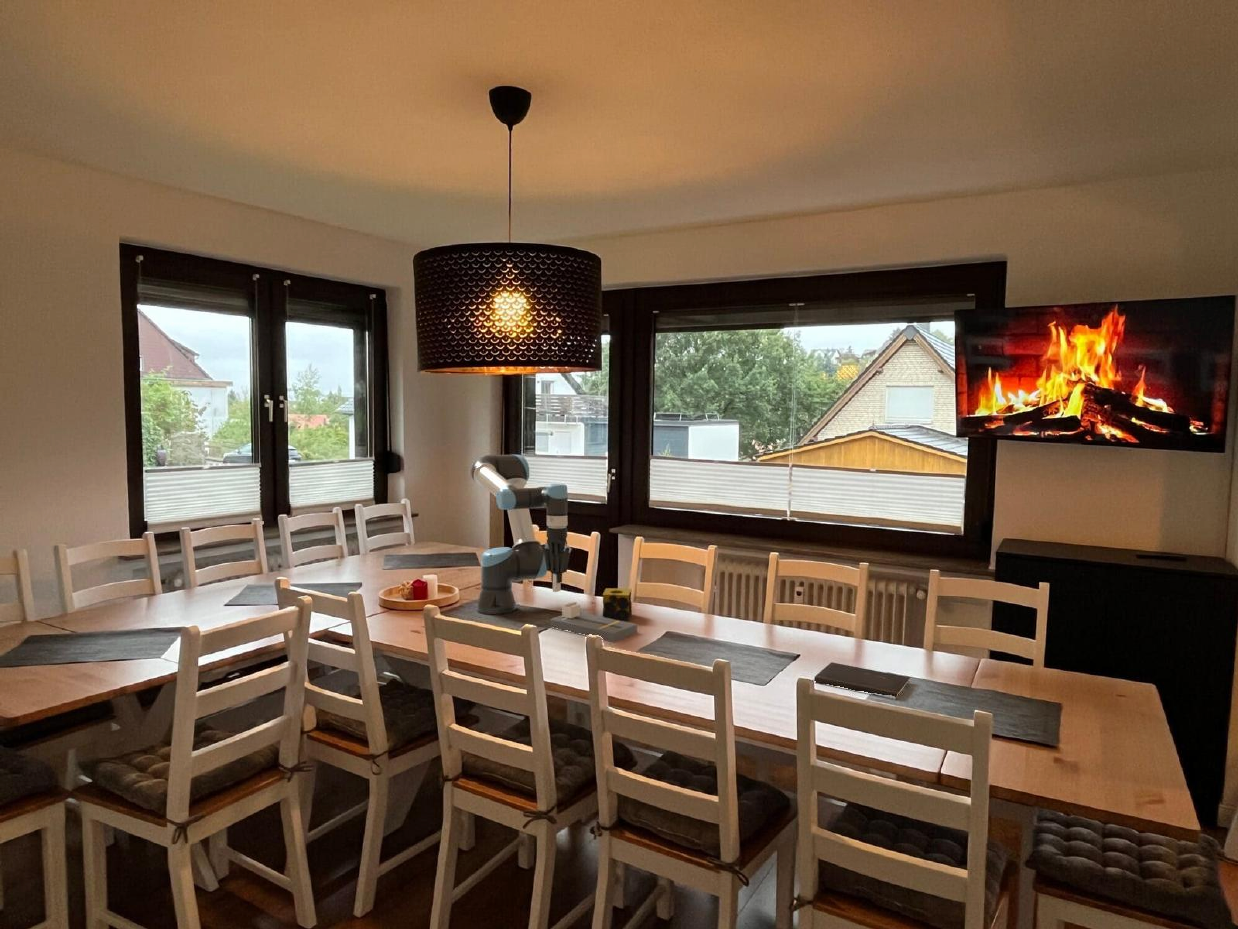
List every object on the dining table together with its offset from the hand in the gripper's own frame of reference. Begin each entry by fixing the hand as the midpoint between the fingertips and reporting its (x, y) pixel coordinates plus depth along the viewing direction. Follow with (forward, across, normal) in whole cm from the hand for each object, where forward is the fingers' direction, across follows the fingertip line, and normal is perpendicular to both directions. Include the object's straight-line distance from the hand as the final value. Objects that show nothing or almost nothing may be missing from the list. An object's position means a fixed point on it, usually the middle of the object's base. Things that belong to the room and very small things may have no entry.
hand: (556, 591), depth 280 cm
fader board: (+12, +16, 0) cm, 20 cm away
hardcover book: (+14, +110, +6) cm, 111 cm away
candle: (+12, +14, +19) cm, 26 cm away
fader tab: (+8, +7, 0) cm, 10 cm away
